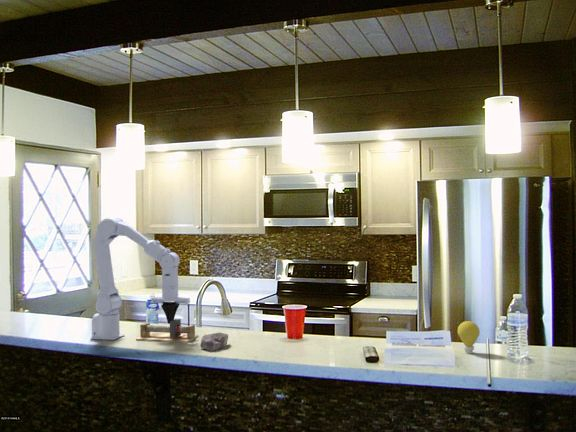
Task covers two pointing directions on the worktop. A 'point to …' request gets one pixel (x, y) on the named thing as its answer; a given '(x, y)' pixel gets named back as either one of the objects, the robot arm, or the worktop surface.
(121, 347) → the worktop surface
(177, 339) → the pipe rig
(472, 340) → the light bulb
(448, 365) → the worktop surface
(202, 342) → the rock
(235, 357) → the worktop surface
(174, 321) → the collar
